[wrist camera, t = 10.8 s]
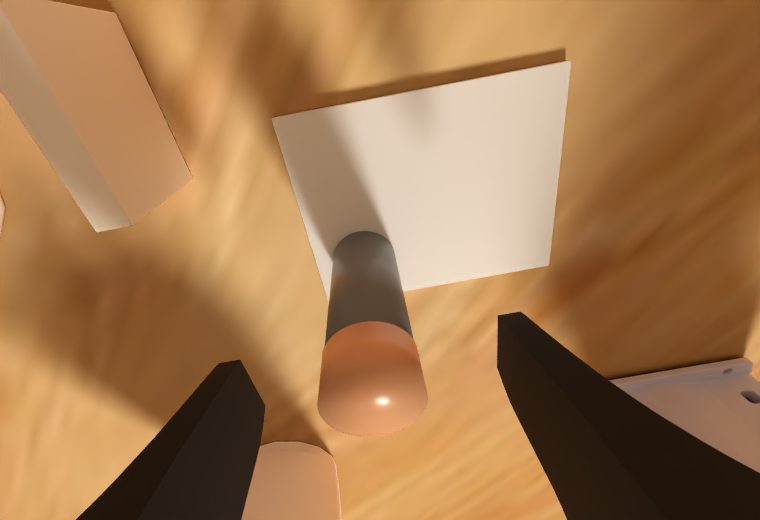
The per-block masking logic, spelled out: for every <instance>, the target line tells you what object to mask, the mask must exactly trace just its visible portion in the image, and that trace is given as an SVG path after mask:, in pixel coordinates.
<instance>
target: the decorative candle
mask: <svg viewBox="0 0 760 520" xmlns="http://www.w3.org/2000/svg"><path fill="white" fill-rule="evenodd" d="M4 214H5V205H4V202H3V199H2V197H1V194H0V238H1V232H2V226H3V220H4Z"/></svg>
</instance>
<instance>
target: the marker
mask: <svg viewBox="0 0 760 520" xmlns="http://www.w3.org/2000/svg"><path fill="white" fill-rule="evenodd" d="M427 401H428V395H427V390H426V386H425V381H424V377H423V372H422V368H421V363H420V359H419V354H418V350H417V346H416V343H415V341H414V340H413V335H412V331H411V326H410V322H409V317H408V312H407V308H406V303H405V298H404V294H403V289H402V285H401V280H400V275H399V271H398V266H397V262H396V257H395V253H394V249H393V247H392V245H391V243H390V242H389V241H388V240H387V239H386V238H385V237H383V236H382V235H380V234H378V233H375V232H371V231H358V232H354V233H351V234H349V235H347V236H346V237H344V238H343V239H342V240H341V241H340V242H339V243H338V244H337V246H336V248H335V250H334V254H333V265H332V275H331V286H330V297H329V308H328V319H327V329H326V340H325V347H324V350H323V354H322V363H321V374H320V384H319V394H318V411H319V414H320V415H321V417H322V419H323V420H324V421H325V422H326V423H327V424H328V425H329V426H331V427H332V428H334V429H336V430H337V431H340V432H342V433H345V434H349V435H353V436H360V437H376V436H383V435H388V434H392V433H395V432H398V431H400V430H402V429H404V428H406V427H408V426H410V425H411V424H413V423H414V422H415V421H416V420H417V419H418V418H419V417H420V416H421V415H422V414H423V412H424V410H425V408H426V406H427Z"/></svg>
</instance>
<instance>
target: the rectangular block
mask: <svg viewBox="0 0 760 520" xmlns="http://www.w3.org/2000/svg"><path fill="white" fill-rule="evenodd" d="M0 91H1V92H2V94H3V95H4V97H5V98H6V100H7V101H8V102H9V104H10V105H11V107H12V108H13V110H14V111H15V113H16V114H17V116H18V117H19V119H20V120H21V122H22V123H23V125H24V126H25V128H26V129H27V131H28V132H29V134H30V135H31V136H32V138H33V139H34V141H35V142H36V144H37V145H38V147H39V148H40V150H41V151H42V153H43V154H44V156H45V157H46V159H47V160H48V162H49V163H50V165H51V166H52V168H53V169H54V170H55V172H56V173H57V175H58V176H59V178H60V179H61V181H62V182H63V184H64V185H65V187H66V188H67V190H68V191H69V193H70V194H71V196H72V197H73V199H74V200H75V202H76V203H77V205H78V206H79V207H80V209H81V210H82V212H83V213H84V215H85V216H86V218H87V219H88V221H89V222H90V224H91V225H92V227H93V228H94V230H95V231H96V232H101V231H107V230H112V229H117V228H123V227H128V226H133V225H134V224H135V223H137V222H138V221H139V220H141V219H142V218H143V217H145V216H146V215H147V214H148V213H150V212H151V211H152V210H154V209H155V208H156V207H157V206H159V205H160V204H161V203H163V202H164V201H165V200H166V199H168V198H169V197H170V196H172V195H173V194H174V193H176V192H177V191H178V190H179V189H181V188H182V187H183V186H185V185H186V184H187V183H188V182H190V181H191V180H192V179H193V178H192V176H191V174H190V171H189V169H188V167H187V165H186V163H185V161H184V159H183V156H182V154H181V152H180V150H179V148H178V146H177V144H176V141H175V139H174V137H173V135H172V133H171V131H170V129H169V126H168V124H167V122H166V120H165V118H164V116H163V114H162V111H161V109H160V107H159V105H158V103H157V101H156V99H155V96H154V94H153V92H152V90H151V88H150V86H149V84H148V82H147V79H146V77H145V75H144V73H143V71H142V69H141V67H140V64H139V62H138V60H137V58H136V56H135V54H134V52H133V49H132V47H131V45H130V43H129V41H128V39H127V37H126V34H125V32H124V30H123V28H122V26H121V24H120V22H119V19H118V17H117V15H116V13H115V12H109V11H104V10H98V9H93V8H87V7H82V6H76V5H71V4H66V3H60V2H55V1H49V0H0Z"/></svg>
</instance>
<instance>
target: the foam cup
mask: <svg viewBox="0 0 760 520" xmlns="http://www.w3.org/2000/svg"><path fill="white" fill-rule="evenodd" d="M241 520H342V517H341V506H340V495H339V484H338V477H337V467H336V464H335V461H334V458H333V456H331V455H330V454H329V453H327V452H326V451H324V450H323V449H322V448H320V447H318V446H314V445H310V444H307V443H303V442H299V441H288V442H272V443H269V444H265V445H262V446H260V448H259V452H258V456H257V460H256V464H255V468H254V472H253V476H252V480H251V484H250V488H249V492H248V496H247V499H246V503H245V507H244V511H243V515H242V519H241Z"/></svg>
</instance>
